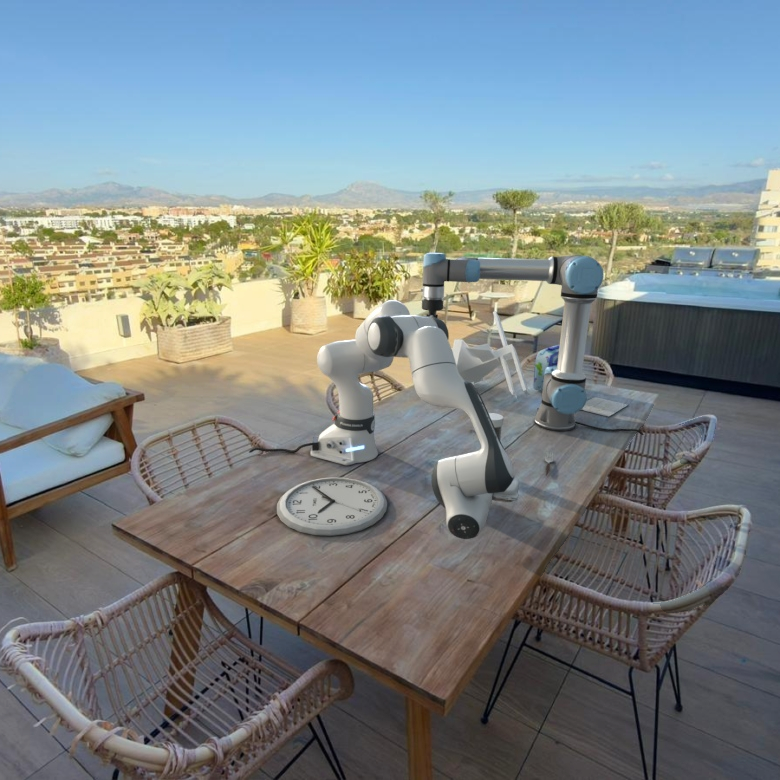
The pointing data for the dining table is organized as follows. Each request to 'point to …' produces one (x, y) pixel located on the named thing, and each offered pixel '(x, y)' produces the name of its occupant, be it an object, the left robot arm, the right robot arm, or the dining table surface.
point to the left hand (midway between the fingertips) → (482, 471)
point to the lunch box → (544, 364)
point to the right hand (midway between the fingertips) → (430, 357)
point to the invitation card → (603, 406)
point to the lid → (496, 419)
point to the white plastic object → (487, 360)
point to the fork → (548, 462)
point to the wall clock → (331, 506)
